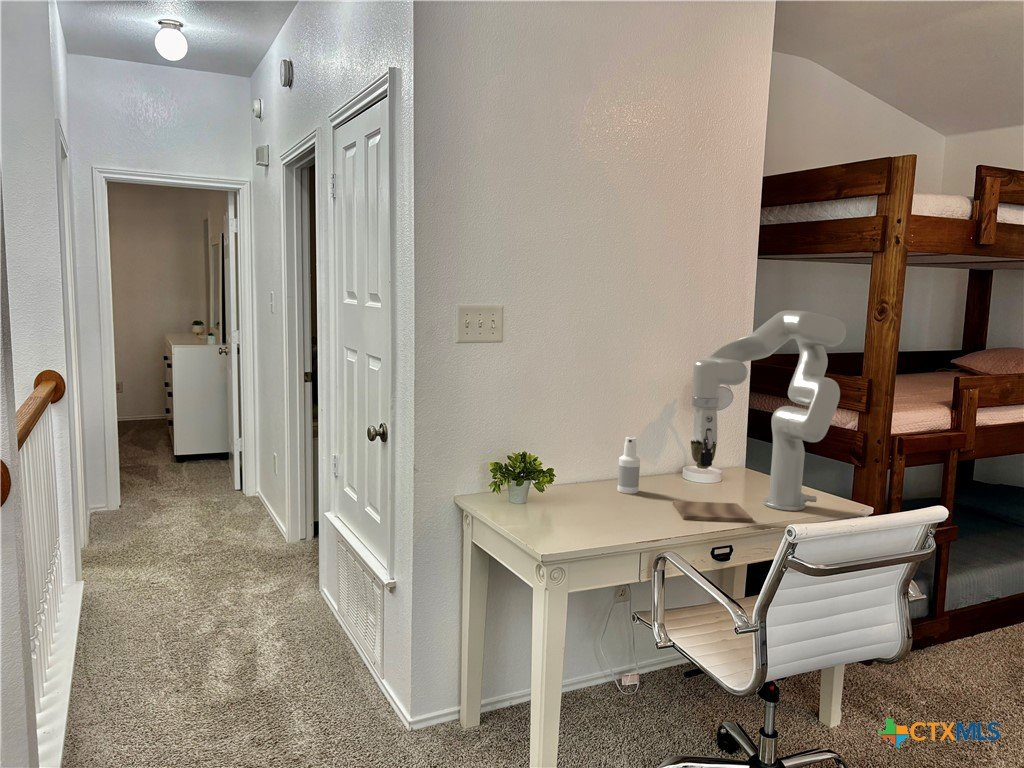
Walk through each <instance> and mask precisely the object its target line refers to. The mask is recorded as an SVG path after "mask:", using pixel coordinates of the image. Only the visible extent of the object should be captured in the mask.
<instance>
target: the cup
mask: <svg viewBox="0 0 1024 768" xmlns="http://www.w3.org/2000/svg"><path fill="white" fill-rule="evenodd" d="M695 441H696V440H695V439H693V440H691V439H690V449H691V456H692V460H693V461H694V462H695V463H696V465H695V466H696V468H697V469H699V470H700V469H701V470H707V469H709V467H710V466H701V465H700V463H701V452H702V443H701V442H700V441H698V442H697V441H696V442H695ZM717 444H718V441H717V442H716V443H713V445H712V447H713V448H712V450H713V452H712V462H713V460H714V459H715V456H716V450H717V446H718V445H717ZM704 445H705V446H706V445H707V444H704Z"/></svg>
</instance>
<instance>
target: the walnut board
mask: <svg viewBox="0 0 1024 768" xmlns="http://www.w3.org/2000/svg"><path fill="white" fill-rule="evenodd" d="M672 506H673V508H675V511H677V513H678V514H679V515H680V517H681V518H682V519H683V521H684V520H685V521H705V522H706V521H707V522H726V523H729V522H730V523H731V522H732V523H733V522H734V523H753V522H754V521H753V520H754V518H753V517H752V516H751V515H750V514H749V513H748V512H747V511H746V510H745V509H744V508H743V507H742V506H740V504H739V503H736V502H735V503H733V502H712V501H711V502H708V501H691V500H690V501H686V500H672Z"/></svg>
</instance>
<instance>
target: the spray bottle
mask: <svg viewBox="0 0 1024 768" xmlns="http://www.w3.org/2000/svg"><path fill="white" fill-rule="evenodd" d="M623 448H624V449H623V455H621V456H619V457H618V474H617V489H616V490H617V491H618V492H619V493H622V494H626V495H627V494H628V495H633V494H638V493H639V485H640V484H639V483H640V466H641V459H640V457H638V456H637V437H628V436H626V437H625V441H624V446H623Z"/></svg>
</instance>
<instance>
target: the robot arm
mask: <svg viewBox="0 0 1024 768" xmlns="http://www.w3.org/2000/svg"><path fill="white" fill-rule="evenodd" d="M846 334H847V329H846V325H845V324H844V323H843V321H841V319H839V318H835V317H831V316H827V315H824V314H819V313H815V312H811V311H807V310H806V311H805V310H789V309H787V310H782V311H779V312H778V313H776V314H774V315H773V316H772V317H771V318H770V319H768V320H767V321H765V322H764V323H762V325H761V326H759V327H758V328H757V329H756V330H754V331H753V332H751V333H750V334H748V335H745V336H743V337H740V338H739V339H736V340H734V341H730V342H728V343H727V344H724V345H723V346H721V347H719V348H718V349H716V350H715V351H714V352H713V353H711V354H710V355H709V356H708V357H707V358H706V359H703V360H702V359H701V360H696V361H695V362H694V364H693V375H692V376H693V377H692V401H691V407H692V408H693V409H694V416H693V417H694V418H693V436H694V438H695V439H694V441H695V442H696V441H697V442H698V441H700V442H701V443H702V452H701V463H700V465H701V466H709V467H712V466H713V461H712V452H713V450H712V448H713V447H712V445H713V443H716V442H717V443H718V411H717V410H718V409H719V405H720V387H721V386H720V385H725V386H738V385H741V384H742V383H744V382H745V381H746V379H747V377H748V374H749V371H748V368H747V366H746V364H745V363H746V362H750V361H757V360H762V359H765V358H768V357H770V356H771V355H772V354H774V353H775V352H777V350H779V349H780V348H781V347H783V346H784V345H785V344H786V343H787V342H789V341H790V340H792V339H793V340H795V341H796V343H797V347H798V351H799V357H798V362H797V366H796V367H795V371H794V373H793V375H792V378H791V380H790V383H789V387H788V388H787V389H788V390H787V396H788V398H789V400H790V401H791V402H794V403H796V404H799V405H803V406H806V407H809V408H808V409H806V408H803V407H797V406H791V405H783V406H780V407H778V408H777V409H775V411H774V412H773V414H772V416H771V432H772V452H771V453H772V455H771V468H770V478H769V490H768V492H769V493H768V496H767V497H764V498H763V501H762V504H764V505H765V506H766V507H768V508H772V509H776V510H780V511H781V510H782V511H792V512H793V511H796V512H797V511H803V510H805V509H806V503H807V502H809V503H817V500H818V499H817V495H810V494H805V493H803V491H802V488H803V478H804V466H805V455H806V453H805V452H806V451H805V446H804V442H803V441H805V442H808V443H819V442H820V441H821V440H823V439H824V438H825V437H826V435H827V433H828V430H829V428H830V425H831V423H832V420H833V418H834V415H835V412H836V410H837V407H838V405H839V402H840V398H841V389H840V386H839V384H838V382H837V381H836V380H834V379H832V378H829V377H825V374H826V370H827V368H828V361H829V359H828V355H827V352H826V349H825V347H830V348H831V347H836V346H839V345H841V343H843V342H844V340H845V338H846V337H847V335H846ZM704 444H707V445H706V446H705V445H704Z"/></svg>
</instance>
